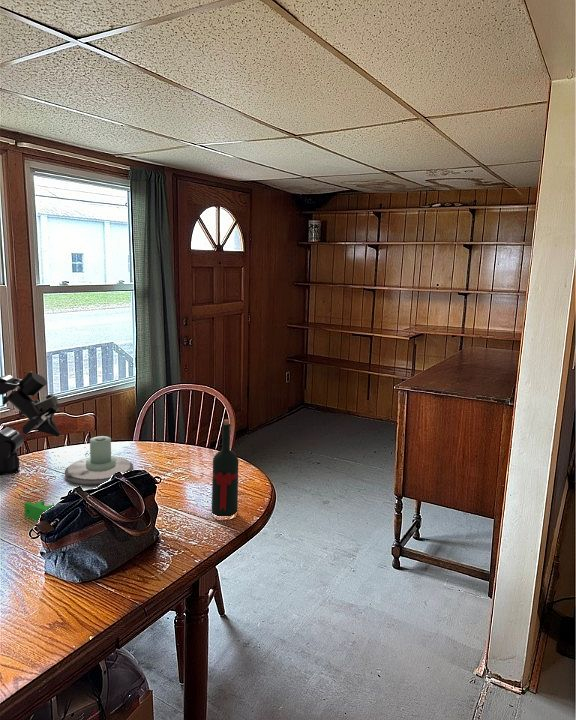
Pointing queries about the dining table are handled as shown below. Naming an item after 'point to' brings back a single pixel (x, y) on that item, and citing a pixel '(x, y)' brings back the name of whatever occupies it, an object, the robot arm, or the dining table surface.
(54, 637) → the dining table surface
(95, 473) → the turntable
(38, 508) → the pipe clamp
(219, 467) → the wine bottle
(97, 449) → the sage green cylinder
